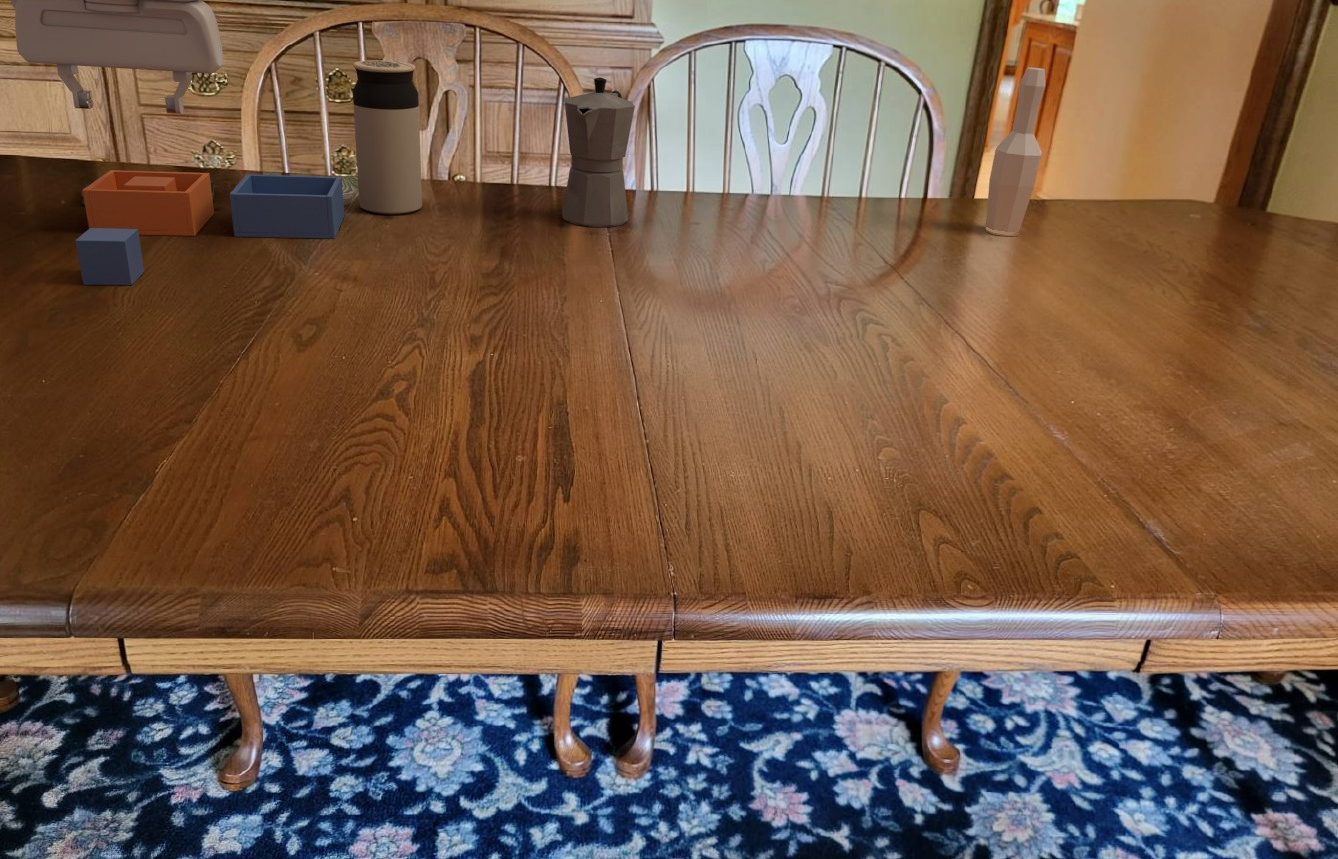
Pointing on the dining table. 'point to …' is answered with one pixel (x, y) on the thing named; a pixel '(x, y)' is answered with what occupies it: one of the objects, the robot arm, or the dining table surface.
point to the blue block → (110, 256)
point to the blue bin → (287, 206)
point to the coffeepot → (597, 157)
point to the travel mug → (387, 137)
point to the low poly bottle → (1016, 160)
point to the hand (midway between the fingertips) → (130, 110)
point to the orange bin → (150, 204)
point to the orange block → (151, 184)
